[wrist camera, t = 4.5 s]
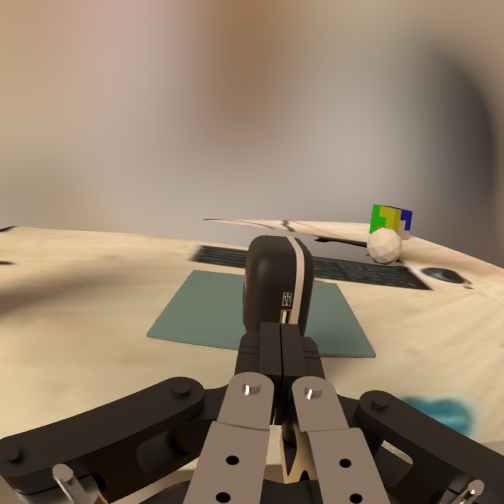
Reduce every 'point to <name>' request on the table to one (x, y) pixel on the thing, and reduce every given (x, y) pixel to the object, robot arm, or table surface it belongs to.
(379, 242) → the geometric ball
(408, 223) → the puzzle toy
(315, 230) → the table surface
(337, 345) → the mat
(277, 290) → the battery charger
